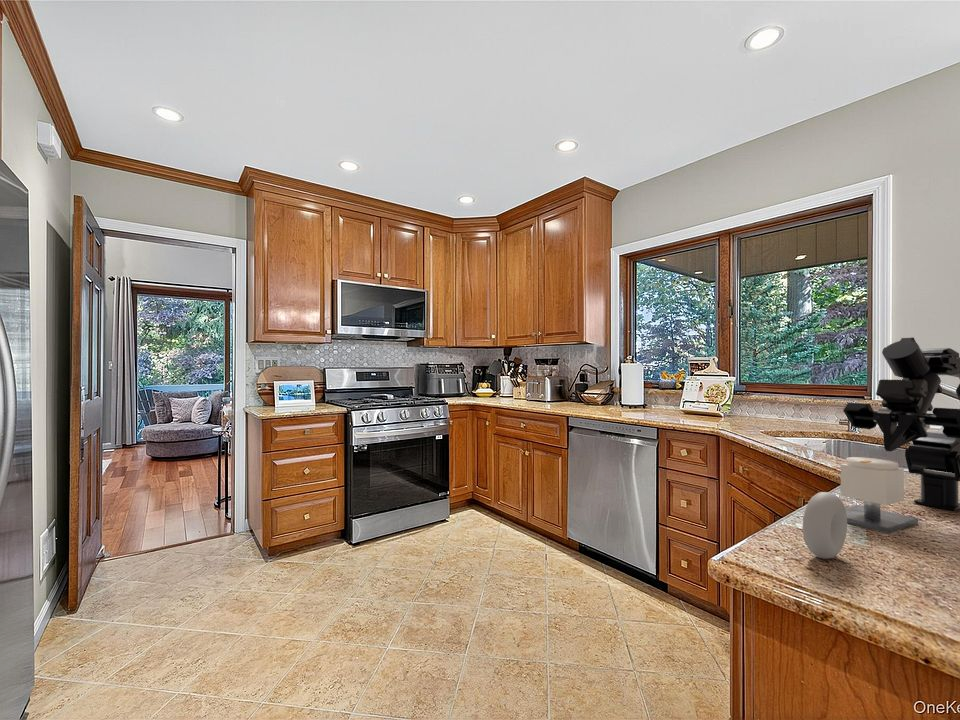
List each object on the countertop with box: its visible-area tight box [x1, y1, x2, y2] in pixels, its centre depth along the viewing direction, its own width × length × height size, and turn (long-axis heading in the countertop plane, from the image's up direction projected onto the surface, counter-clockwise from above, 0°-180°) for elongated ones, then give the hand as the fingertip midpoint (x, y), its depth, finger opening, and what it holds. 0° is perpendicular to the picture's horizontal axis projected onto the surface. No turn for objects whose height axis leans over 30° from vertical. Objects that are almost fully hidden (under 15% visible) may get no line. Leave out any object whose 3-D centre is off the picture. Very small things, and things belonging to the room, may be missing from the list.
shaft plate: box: [845, 500, 919, 534], centre depth 87 cm, size 12×10×7 cm
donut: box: [802, 491, 848, 560], centre depth 70 cm, size 10×3×10 cm, turn 124°
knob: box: [840, 456, 905, 506], centre depth 87 cm, size 8×8×7 cm
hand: (887, 449), depth 90 cm, fingers closed
